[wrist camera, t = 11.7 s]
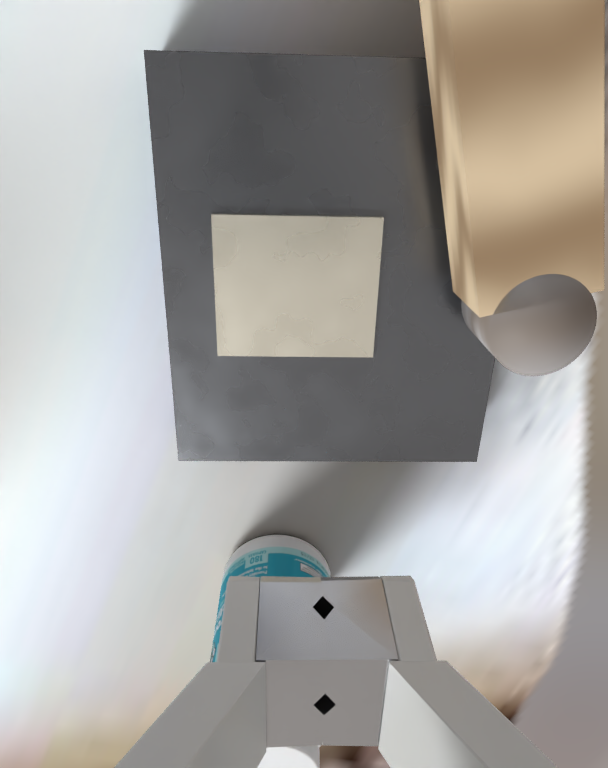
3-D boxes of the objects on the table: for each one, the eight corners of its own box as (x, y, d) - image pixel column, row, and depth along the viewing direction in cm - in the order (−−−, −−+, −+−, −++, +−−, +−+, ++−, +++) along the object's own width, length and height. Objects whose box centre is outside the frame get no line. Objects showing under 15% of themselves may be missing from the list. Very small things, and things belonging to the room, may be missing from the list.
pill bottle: (253, 513, 37) (236, 705, 25) (349, 553, 39) (378, 752, 26) (205, 589, 40) (169, 797, 27) (298, 623, 41) (302, 834, 29)
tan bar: (561, 330, 27) (604, 362, 24) (460, 353, 28) (486, 387, 24) (542, -259, 19) (604, -353, 15) (394, -216, 19) (419, -298, 15)
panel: (158, 58, 26) (136, 46, 22) (541, 68, 27) (583, 59, 23) (187, 434, 34) (174, 472, 30) (477, 435, 35) (501, 473, 31)
